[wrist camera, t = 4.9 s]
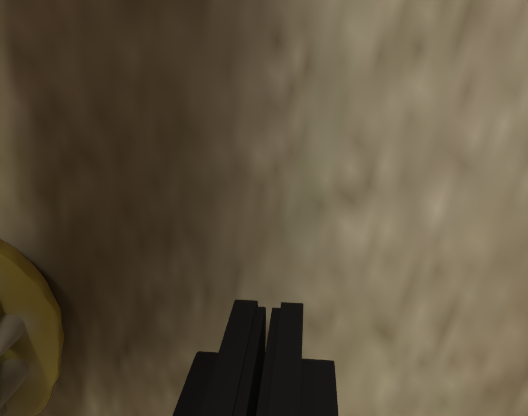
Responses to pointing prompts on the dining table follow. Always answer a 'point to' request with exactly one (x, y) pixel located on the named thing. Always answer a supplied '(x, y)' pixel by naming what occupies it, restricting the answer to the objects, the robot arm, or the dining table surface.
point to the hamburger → (27, 336)
